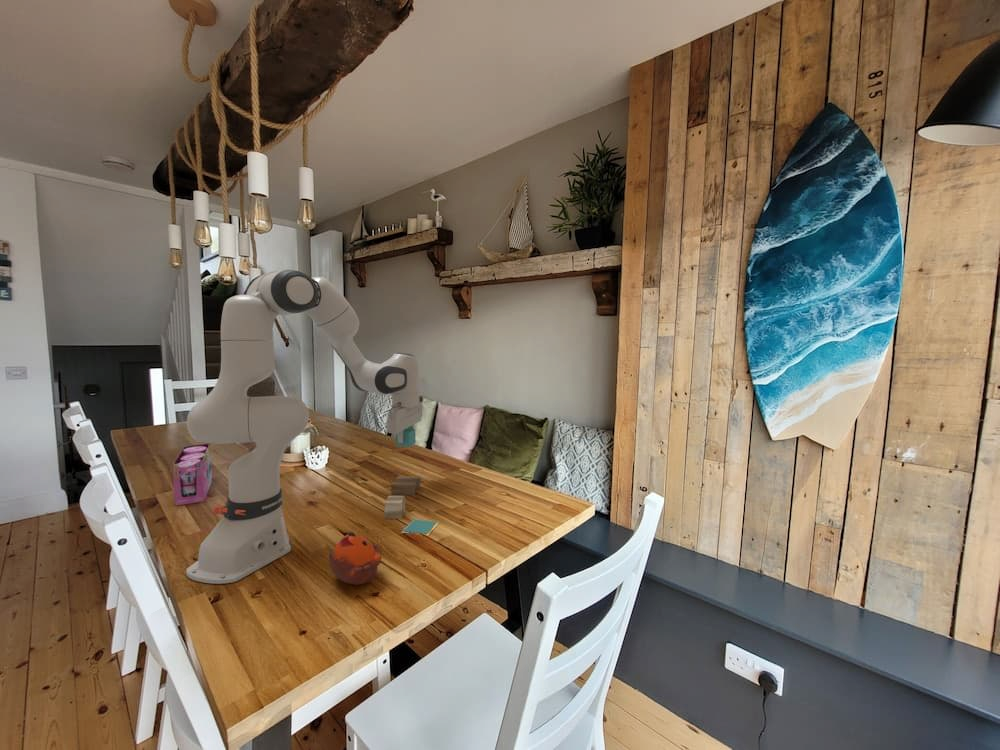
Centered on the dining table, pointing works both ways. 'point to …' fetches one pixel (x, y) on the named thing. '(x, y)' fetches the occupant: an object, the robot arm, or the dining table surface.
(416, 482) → the walnut block
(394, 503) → the maple cube
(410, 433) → the teal cube
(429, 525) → the swatch tile
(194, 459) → the gum box
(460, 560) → the dining table surface
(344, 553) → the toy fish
